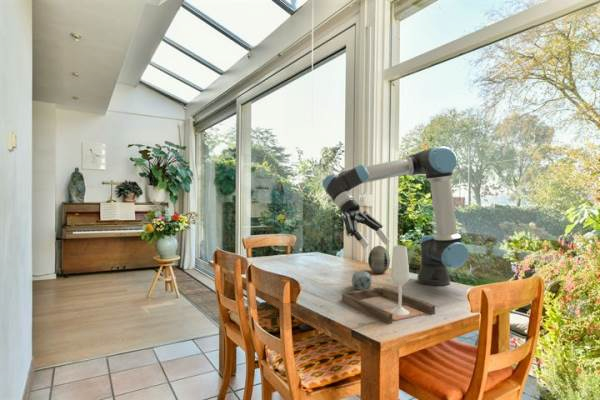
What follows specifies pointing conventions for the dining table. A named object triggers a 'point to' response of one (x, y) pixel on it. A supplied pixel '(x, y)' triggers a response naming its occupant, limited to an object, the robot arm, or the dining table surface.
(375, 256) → the decorative egg
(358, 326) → the dining table surface
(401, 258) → the champagne flute
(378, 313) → the bay
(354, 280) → the mottled grey rounded block
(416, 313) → the front tile
